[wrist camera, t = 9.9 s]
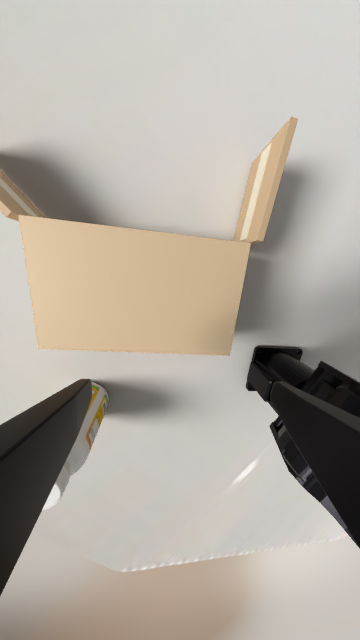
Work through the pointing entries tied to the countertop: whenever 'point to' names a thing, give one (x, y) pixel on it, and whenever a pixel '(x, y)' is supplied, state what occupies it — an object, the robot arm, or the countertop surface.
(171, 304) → the carton
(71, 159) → the countertop surface
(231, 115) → the countertop surface
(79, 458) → the supplement bottle
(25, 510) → the robot arm
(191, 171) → the countertop surface
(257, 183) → the right flap
